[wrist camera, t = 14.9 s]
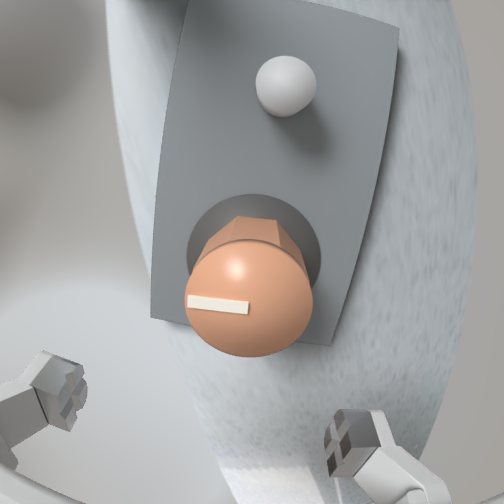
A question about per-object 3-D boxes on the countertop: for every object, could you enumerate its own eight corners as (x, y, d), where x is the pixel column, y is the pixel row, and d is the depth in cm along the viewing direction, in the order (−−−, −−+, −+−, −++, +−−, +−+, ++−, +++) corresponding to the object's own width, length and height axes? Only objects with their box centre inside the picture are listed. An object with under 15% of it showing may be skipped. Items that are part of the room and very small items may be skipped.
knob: (307, 220, 20) (324, 254, 14) (293, 308, 22) (301, 363, 17) (207, 210, 20) (184, 240, 14) (202, 299, 22) (184, 351, 17)
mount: (197, 0, 17) (177, -37, 11) (389, 35, 17) (424, 10, 12) (157, 304, 25) (133, 347, 20) (325, 331, 26) (338, 379, 20)
